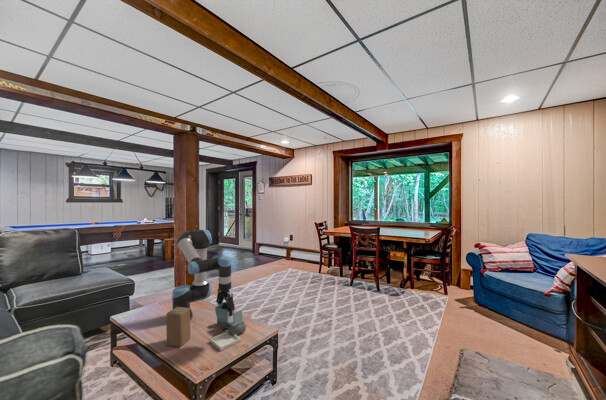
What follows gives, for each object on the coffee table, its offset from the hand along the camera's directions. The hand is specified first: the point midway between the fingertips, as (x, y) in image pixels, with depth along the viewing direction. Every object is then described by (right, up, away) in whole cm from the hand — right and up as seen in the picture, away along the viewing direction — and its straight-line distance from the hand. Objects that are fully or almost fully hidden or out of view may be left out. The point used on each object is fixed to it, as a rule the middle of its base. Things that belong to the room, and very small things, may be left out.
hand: (225, 317), depth 158 cm
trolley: (0, -15, +14) cm, 20 cm away
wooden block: (-29, -15, 0) cm, 33 cm away
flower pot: (0, -2, 0) cm, 2 cm away
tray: (0, -15, 0) cm, 15 cm away
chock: (-9, -15, +22) cm, 28 cm away
